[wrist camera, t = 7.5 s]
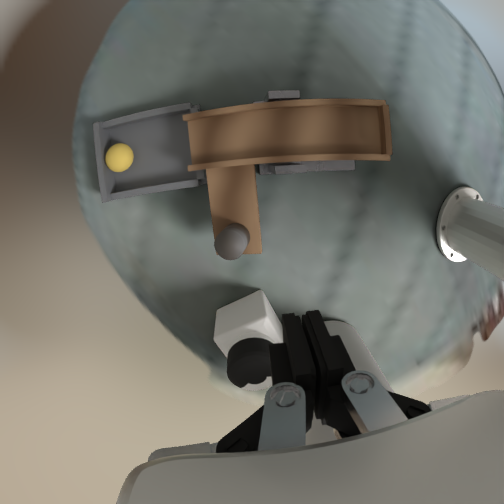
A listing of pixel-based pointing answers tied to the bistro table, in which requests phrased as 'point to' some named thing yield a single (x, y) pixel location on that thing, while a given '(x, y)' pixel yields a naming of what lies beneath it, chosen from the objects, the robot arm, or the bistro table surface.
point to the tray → (147, 152)
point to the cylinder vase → (361, 362)
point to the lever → (275, 153)
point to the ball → (119, 157)
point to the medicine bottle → (248, 339)
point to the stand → (299, 165)
